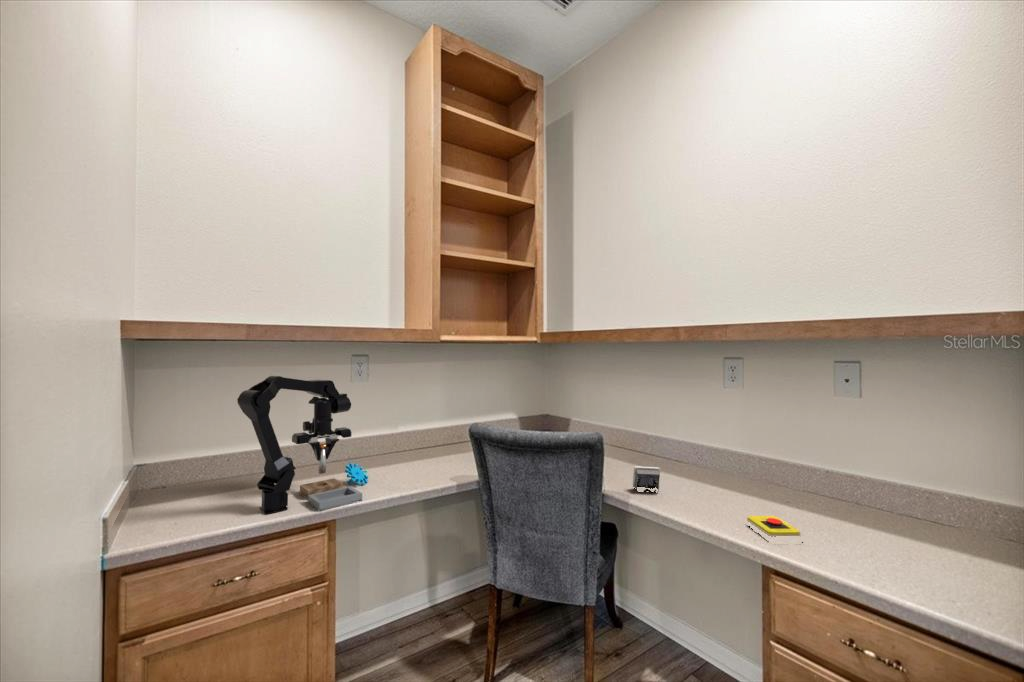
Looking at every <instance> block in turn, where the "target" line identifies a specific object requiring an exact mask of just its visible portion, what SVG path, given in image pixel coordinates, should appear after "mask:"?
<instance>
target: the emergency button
mask: <svg viewBox="0 0 1024 682" xmlns="http://www.w3.org/2000/svg"><path fill="white" fill-rule="evenodd" d="M746 518H747V521H748V522H750V523H751V524H752V525H754V526H755V527H757V528H758V529H759V530H761V531H762V532H764V533H765V534H767V535H768V536H771V537H773V536H774V537H776V536H800V537H801V531H800V530H799V529H797V528H796V527H795V526H793V525H791V524H789V523H787V522H786V521H784V520H783V519H781V518H779V517H778V516H775V515H763V516H762V515H748V516H747V517H746ZM747 521H746V522H747Z"/></svg>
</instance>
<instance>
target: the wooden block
mask: <svg viewBox="0 0 1024 682" xmlns="http://www.w3.org/2000/svg"><path fill="white" fill-rule="evenodd" d="M339 488H344V483H343V482H341V481H340V480H338V479H336V478H335V477H334V478H329V479H325V480H318V481H314V482H310V483H305V484H300V485H299V495H301V496H302V495H303V496H304V497H303V496H302V497H303V498H305V499H306V498H307V499H306V500H308V495H312V494H316V493H321V492H325V491H330V490H334V489H339Z"/></svg>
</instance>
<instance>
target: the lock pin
mask: <svg viewBox="0 0 1024 682" xmlns="http://www.w3.org/2000/svg"><path fill="white" fill-rule="evenodd" d="M326 447H328V444H327V443H326V442H320V458H319V461H318V474H320V475H323V474H326V472H327V459H326Z"/></svg>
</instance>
